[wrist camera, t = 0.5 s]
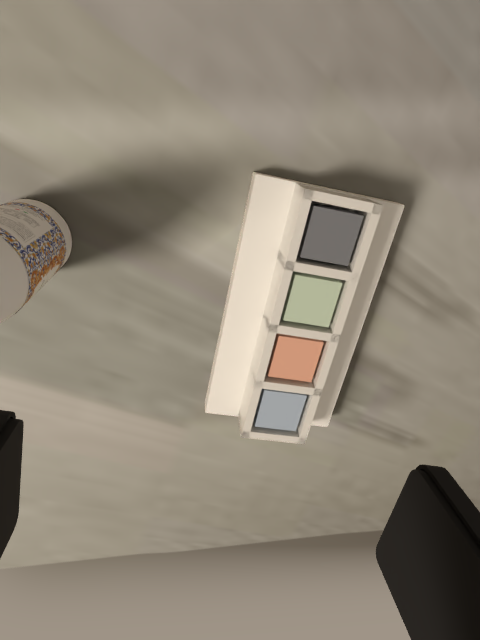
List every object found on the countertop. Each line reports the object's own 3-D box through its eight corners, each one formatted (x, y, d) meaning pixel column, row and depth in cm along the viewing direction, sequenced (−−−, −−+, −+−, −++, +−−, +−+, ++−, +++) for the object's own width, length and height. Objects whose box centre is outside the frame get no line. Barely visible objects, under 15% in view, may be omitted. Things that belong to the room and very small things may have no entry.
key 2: (291, 268, 39) (295, 274, 37) (336, 276, 40) (342, 283, 38) (279, 312, 41) (283, 320, 39) (323, 319, 41) (328, 327, 40)
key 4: (261, 380, 44) (264, 390, 42) (302, 385, 44) (306, 395, 43) (252, 415, 45) (254, 426, 44) (292, 420, 46) (295, 431, 44)
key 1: (308, 202, 37) (314, 205, 35) (356, 212, 37) (363, 216, 36) (295, 251, 38) (300, 257, 37) (341, 260, 39) (348, 266, 37)
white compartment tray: (253, 171, 39) (261, 177, 33) (395, 202, 41) (423, 212, 36) (205, 401, 48) (205, 434, 43) (322, 416, 50) (336, 448, 45)
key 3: (275, 327, 41) (278, 335, 40) (318, 334, 42) (323, 342, 40) (265, 366, 43) (268, 376, 41) (307, 372, 44) (311, 382, 42)
